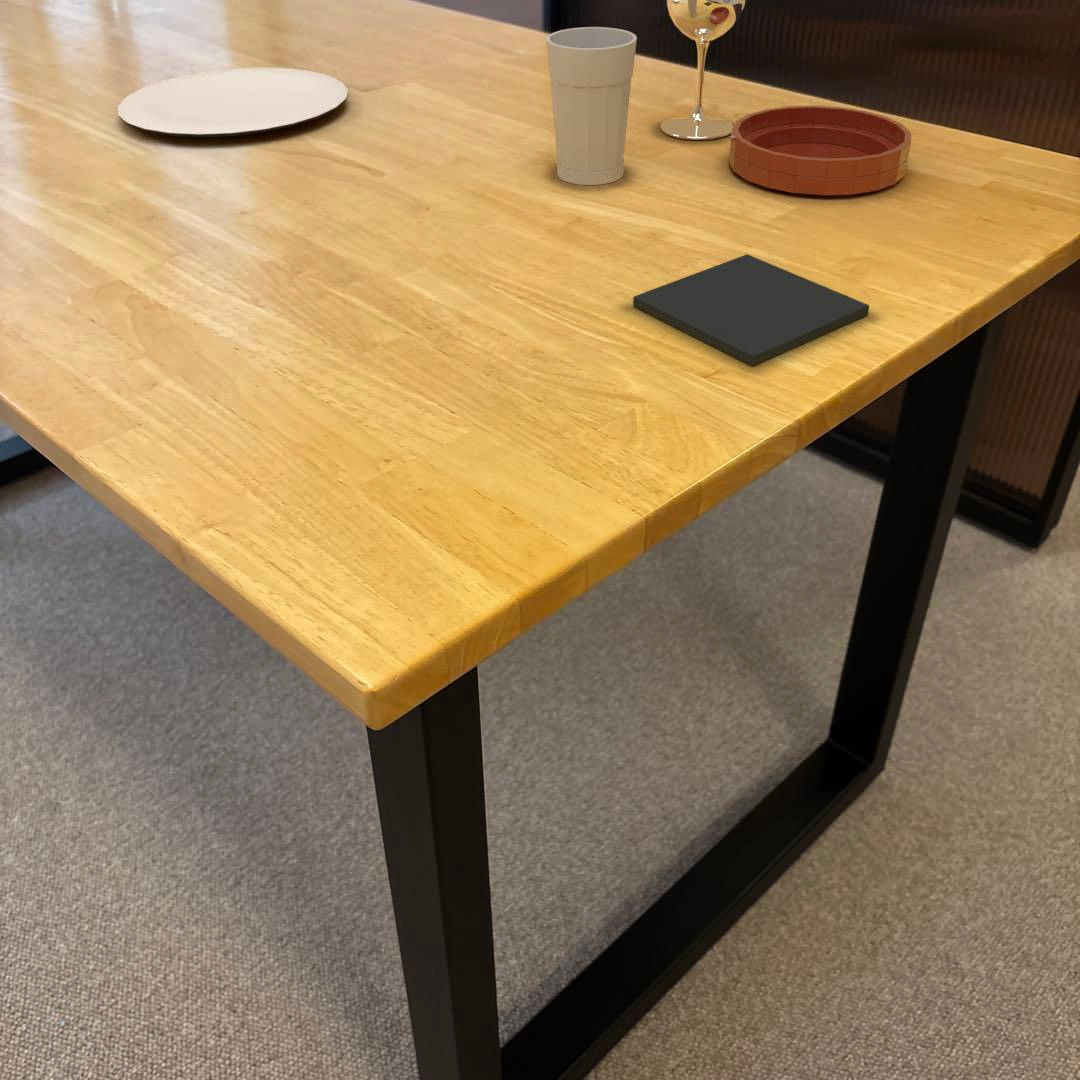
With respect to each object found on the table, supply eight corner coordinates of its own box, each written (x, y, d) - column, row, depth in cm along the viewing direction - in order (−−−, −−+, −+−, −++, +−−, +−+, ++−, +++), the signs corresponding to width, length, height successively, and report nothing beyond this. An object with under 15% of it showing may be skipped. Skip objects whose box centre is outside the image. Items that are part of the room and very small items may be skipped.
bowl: (940, 171, 101) (948, 133, 99) (825, 213, 94) (831, 173, 92) (807, 131, 112) (811, 95, 109) (694, 166, 104) (696, 128, 102)
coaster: (867, 315, 78) (869, 305, 78) (752, 366, 72) (753, 356, 72) (746, 263, 86) (747, 253, 85) (632, 306, 80) (633, 296, 79)
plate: (107, 157, 109) (103, 140, 108) (132, 89, 128) (128, 74, 127) (356, 137, 113) (354, 120, 112) (343, 74, 132) (342, 59, 131)
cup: (531, 172, 103) (527, 37, 96) (593, 153, 107) (594, 22, 100) (587, 194, 98) (588, 54, 91) (649, 173, 102) (655, 37, 95)
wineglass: (715, 145, 108) (734, -82, 96) (646, 134, 112) (655, -88, 100) (746, 124, 114) (767, -95, 101) (679, 114, 117) (691, -99, 105)
